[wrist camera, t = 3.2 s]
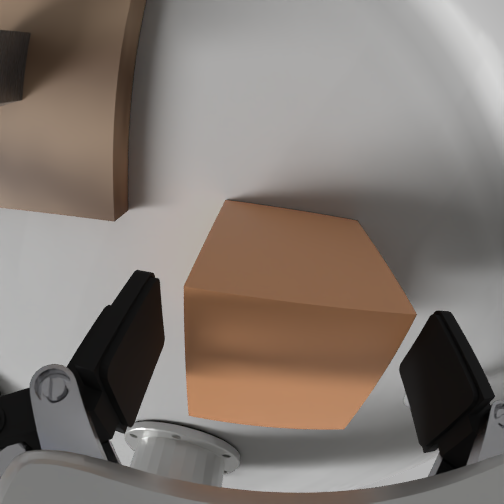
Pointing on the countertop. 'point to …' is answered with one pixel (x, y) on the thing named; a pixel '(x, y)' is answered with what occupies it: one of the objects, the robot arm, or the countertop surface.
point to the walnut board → (70, 107)
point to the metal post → (12, 65)
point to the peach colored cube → (288, 319)
